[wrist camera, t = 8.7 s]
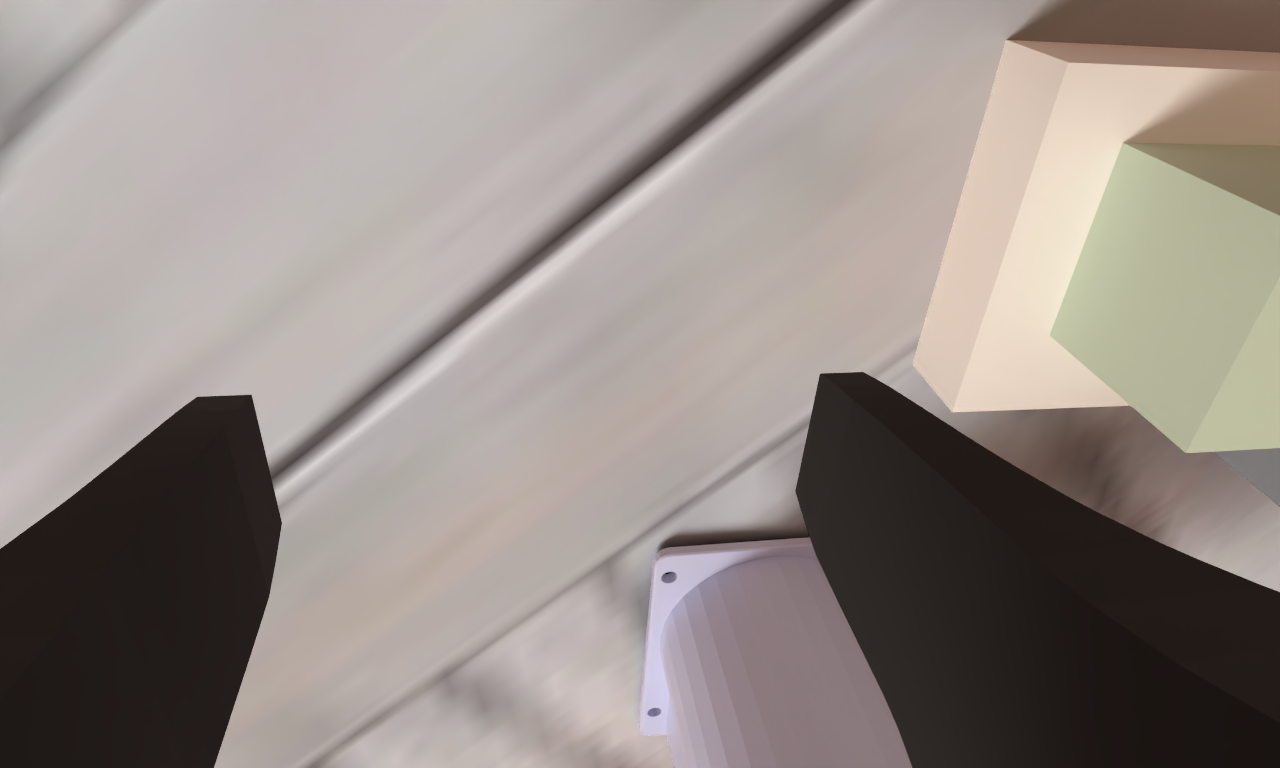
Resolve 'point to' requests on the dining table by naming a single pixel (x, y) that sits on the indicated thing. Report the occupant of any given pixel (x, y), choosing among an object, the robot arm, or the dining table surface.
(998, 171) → the base block
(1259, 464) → the grey block
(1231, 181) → the sage block
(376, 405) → the dining table surface
